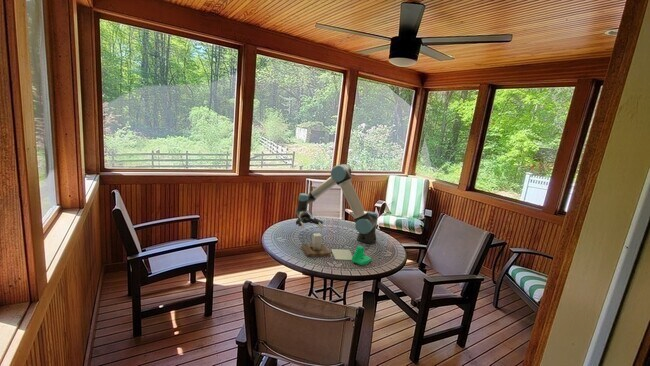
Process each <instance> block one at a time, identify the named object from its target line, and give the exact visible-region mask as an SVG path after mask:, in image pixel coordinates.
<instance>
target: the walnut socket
mask: <svg viewBox="0 0 650 366" xmlns="http://www.w3.org/2000/svg"><path fill="white" fill-rule="evenodd" d="M311 245H312V243H301V249H302V251H303V252H304V254H305V256H306V257H307V258H310V257H311V258H315V257H318V258H319V257H331V254H332V252H330V249H328V248H327V246H325V244H324V243H321V250H320V251H312V250H311Z"/></svg>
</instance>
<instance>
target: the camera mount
mask: <svg viewBox="0 0 650 366" xmlns="http://www.w3.org/2000/svg"><path fill="white" fill-rule="evenodd" d="M352 256H353V257H352V260H351V262H353V263H356V264H358V265H359V266H366V265H367V264H368V265H369V263H370V262H372V258H371V257H370V256H367V255H366V254H365V247H364V246H362V245H357V247H356V249H355V252H354V253H353V254H352Z"/></svg>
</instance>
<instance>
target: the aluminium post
mask: <svg viewBox="0 0 650 366" xmlns="http://www.w3.org/2000/svg"><path fill="white" fill-rule="evenodd" d="M322 239H323V235H322V234H321V233H320V232H319V233H318V232H317V233H316V232H315V233H312V237H311V244H312V245H311V250H312V251H320V250H321V244H322V242H323V240H322Z"/></svg>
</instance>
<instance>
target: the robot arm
mask: <svg viewBox="0 0 650 366" xmlns="http://www.w3.org/2000/svg"><path fill="white" fill-rule="evenodd" d="M352 180H353V178H352V167H350V166H349V164H345V163H342V164H337V165H335V166H333V167H332V169H331V170H330V177H328V178H327V179H326V180H324V181H323V182H321V184H319V185H318V186H316V187H315V188H313V190H311V191H310V192H308V193H304V192H303V193H299V195H298V201H297V207H296V210H295V214H296V216H297V219H296V221H295V225H298V227H301V229H304V227H305V224H308V223H309V224H315V225H317V226H318V228H320V229H321V230H322V229H323V223H324V222H323V221H322V220H319V219H318V218H316V217H313V218H312V216H311V215H310V214H309V213H308V205H309V204H312V203H314V202H315V201H316V200H317V199H318V198H321V196H322V195H324V194H325V193H326V192H328V191H329V190H330V189H332V188H334V186H336V185H337V186H338V187H340V188H341V191H342V193H343V195H344V197H345V199H346V201H347V203H348V206H349V207H350V209H351V211H352V212H351V213H353V220H354V223H355V224H354V225H355V226H354V227H355V230H356V231H357V232H358V234H357V237H356V239H357V241H358V242H361V243H364V244H370V245H371V244H376V243H377V240H378V239H377V233H376V230H377V223H378V218H379V217H378V216H379V214H378V213H377V212H374V211H369V210H365V208H364V206H363V203H362V201H361V200H360V198H359V195H358V194H357V191H356V189H355V187H354V184H353V183H352Z"/></svg>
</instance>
